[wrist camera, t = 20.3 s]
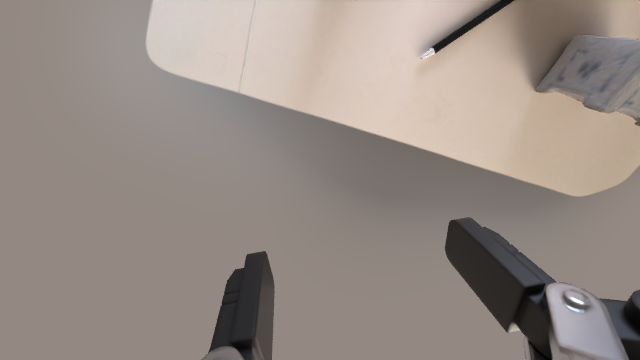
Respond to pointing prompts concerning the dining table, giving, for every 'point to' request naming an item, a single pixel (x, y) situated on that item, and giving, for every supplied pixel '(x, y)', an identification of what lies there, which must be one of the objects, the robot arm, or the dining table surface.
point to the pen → (467, 27)
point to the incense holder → (599, 74)
